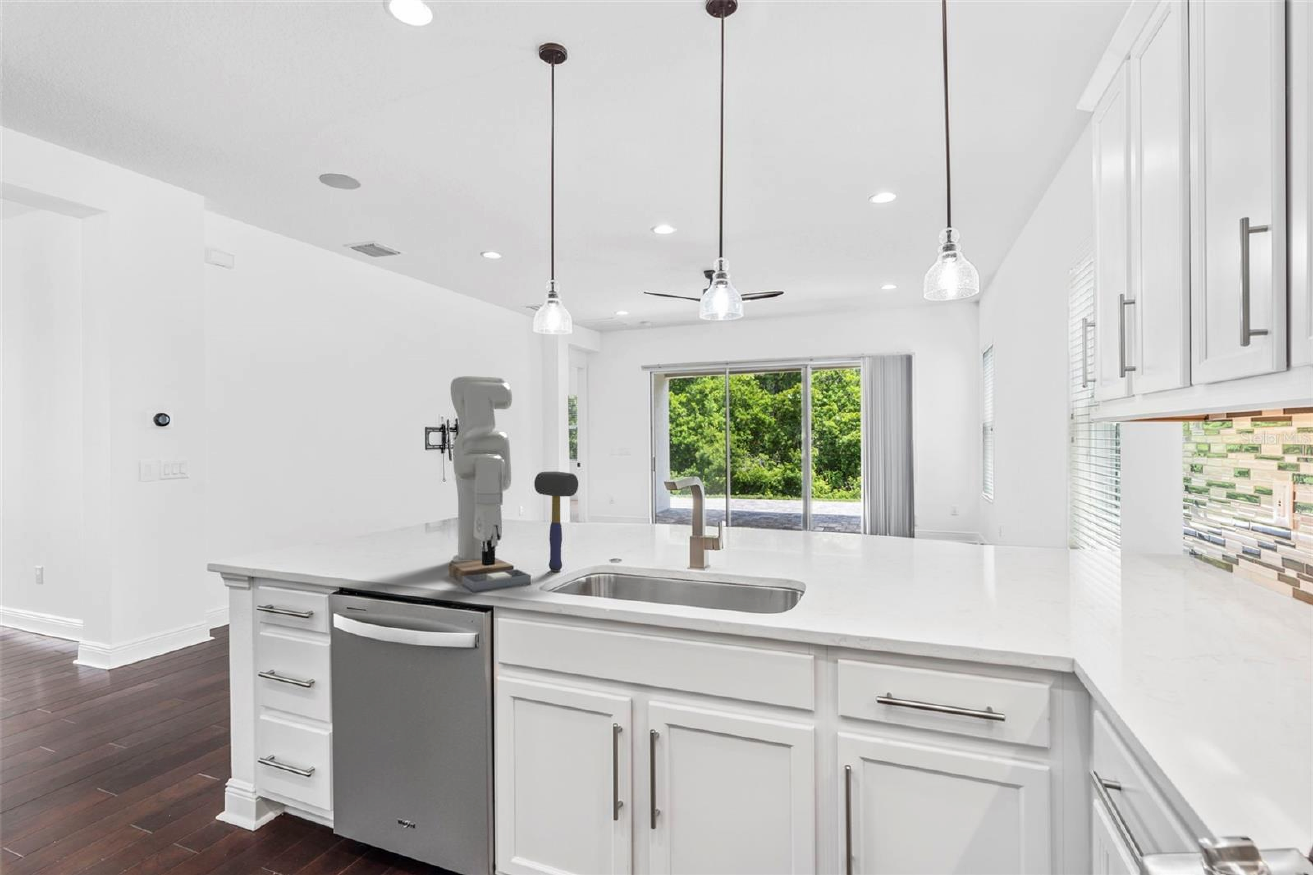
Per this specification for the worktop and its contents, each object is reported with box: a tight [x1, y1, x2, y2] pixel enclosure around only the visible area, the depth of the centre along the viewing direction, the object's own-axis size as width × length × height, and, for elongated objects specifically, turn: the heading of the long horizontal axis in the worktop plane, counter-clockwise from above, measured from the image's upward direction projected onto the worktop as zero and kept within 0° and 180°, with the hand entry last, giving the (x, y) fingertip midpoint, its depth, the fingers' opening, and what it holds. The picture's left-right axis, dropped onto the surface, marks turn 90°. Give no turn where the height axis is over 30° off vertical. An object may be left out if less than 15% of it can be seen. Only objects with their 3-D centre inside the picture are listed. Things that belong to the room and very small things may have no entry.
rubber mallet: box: [533, 471, 579, 573], centre depth 186 cm, size 12×8×30 cm, turn 60°
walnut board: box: [448, 557, 515, 584], centre depth 178 cm, size 14×14×4 cm
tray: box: [461, 568, 532, 593], centre depth 168 cm, size 9×16×2 cm, turn 126°
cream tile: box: [487, 572, 511, 581], centre depth 167 cm, size 5×5×2 cm
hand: (488, 564), depth 173 cm, fingers closed
